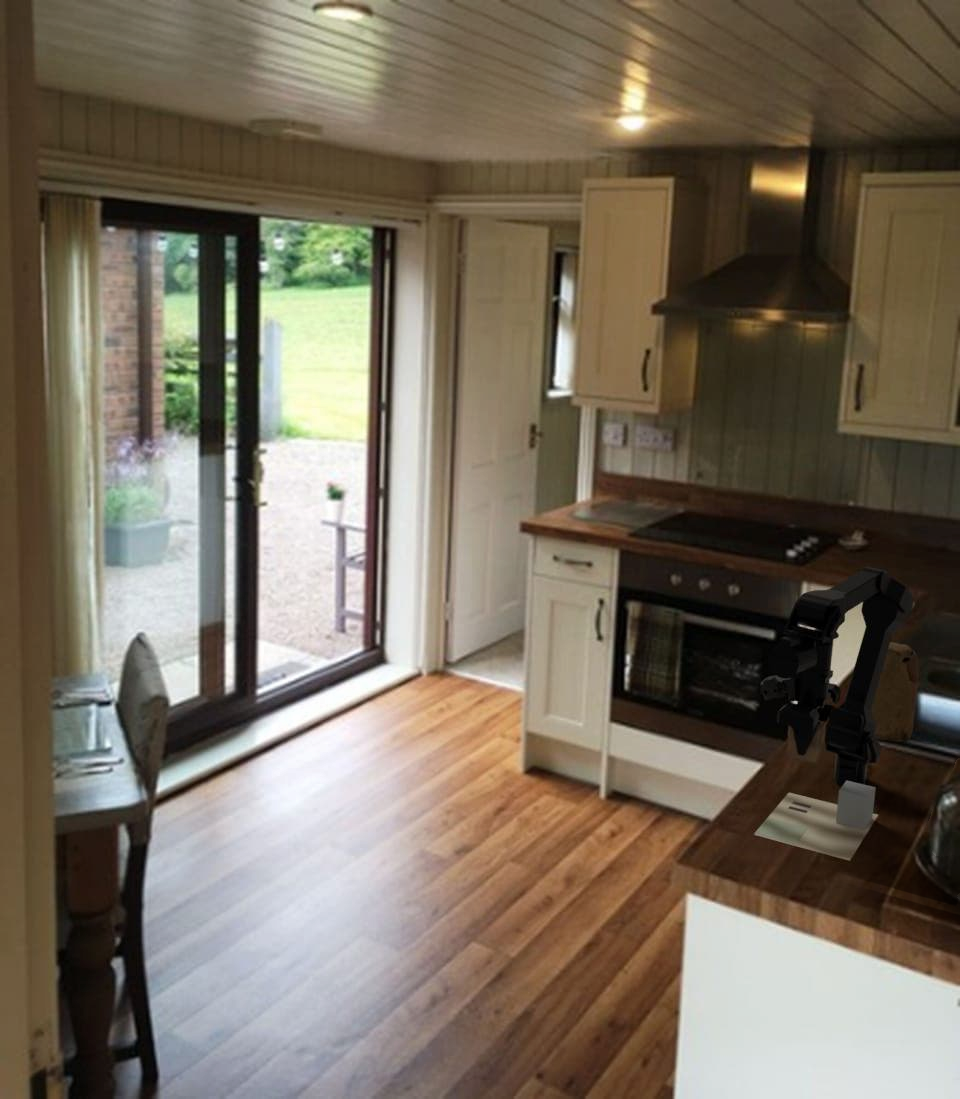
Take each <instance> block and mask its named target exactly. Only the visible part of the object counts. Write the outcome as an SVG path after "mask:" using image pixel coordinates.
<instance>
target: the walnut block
mask: <svg viewBox="0 0 960 1099" xmlns="http://www.w3.org/2000/svg"><path fill="white" fill-rule="evenodd" d="M818 722H821V724H820V726H819V728H818V730H817V732H816V734H815V736H814V738H813V740H812V742H811V743H810V745H809V747H808V749H807V751H806V753H805V755H804V756H802V755H799V754H798V753H797V748H796V743H795V738H794V734H793V730H792V728H791V726H788V727H789V728H788V738H787V748H786V749H787V750H786V757H788V758H792V759H796V760H801V761H803V762H809V763H813V764H816V763H817V762H818V761H819V759H820V757H822V755H823V754H824V745H825V728H826V724H827V721H826V722H825V721H820V720H819V721H818Z"/></svg>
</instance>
